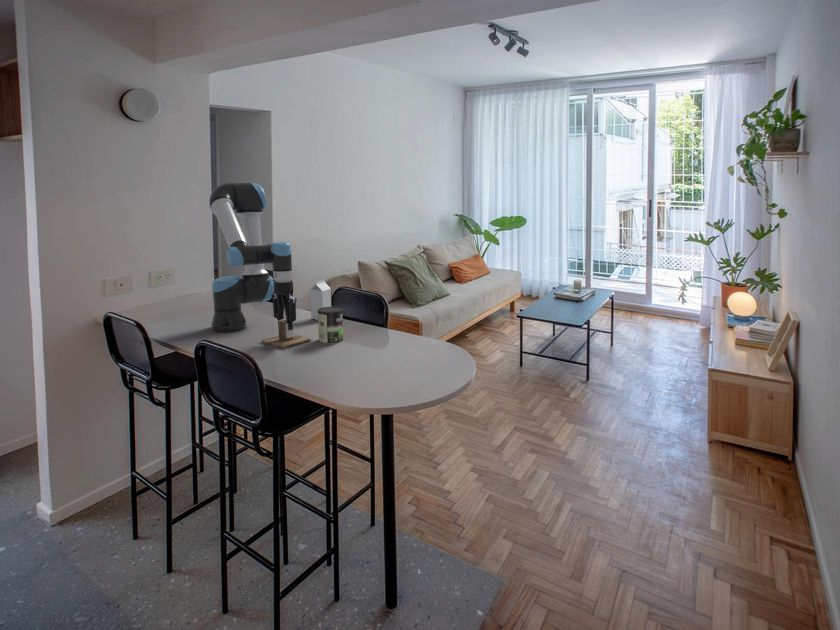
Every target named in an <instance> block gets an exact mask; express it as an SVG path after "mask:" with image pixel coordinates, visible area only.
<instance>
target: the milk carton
mask: <svg viewBox="0 0 840 630" xmlns="http://www.w3.org/2000/svg"><path fill="white" fill-rule="evenodd" d="M309 291H310V292H309V294H310V296H309V297H310V316H311V317H310V319H315V320H314V321H318V309H319V308H323V307H332V292H331V291H332V290H331V287H330V286H329V285H328V284H327V283H326V281H325V279H322V280H319V281H316V282H315V283H314V284H313V286H312V287H311V288H310V290H309Z"/></svg>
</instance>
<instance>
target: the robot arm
mask: <svg viewBox="0 0 840 630" xmlns="http://www.w3.org/2000/svg"><path fill="white" fill-rule="evenodd" d="M208 201H209V202H208V203H209V209H210V211H211V213H212V214H213V215H214V216H215V217H216V219H217V221H218V224H219V226H220V229H221V232H222V233H223V237H224V239H225V241H226V244H227V246H228V247H227V249H226V252H225V254H226V255H225V256H226V260H227V264H228V265H229V266H233V267H234V266H235V267H237V266H238V267H241V266H244V268H245V269H244V271H243V272H242V274H241V275H242V278H240V277H239V276H238V275H227V276H226V275H225V276H221V277H218V278H215V279H214V280H213V281H212V285H211V286H212V288H211V292H212V297H213V299H212V300H213V311H214V312H213V316H212V321H211V330H212V331H214V332H219V333H229V332H236V331H240V330H244V329H246V328H247V320H246V318H245V316H244V314H243V311H242V305H244V304H254V303H262V302H267V301H270V300H272V310H273V318H275V319H276V320H277V322H278V321H281V320H285V318H286V320H287V321H286V338H290V337H293V334H294V333H293V334H292V330H293V329H294V327H293V325H294V324H293V322H296V321H297V304H296V303H297V297H293V294H292V290H294V284H293V263H292V247H291V243H290V242H287V241H274V242H272V243H266V244H263V239H262V227H261V216H262V214H264V213H263V210H265V209H266V207H267V197H266V194H265V190H264V188H263V187H262V185H260V184H258V183H255V182H253V183H252V182H232V183H231V182H224V183H221V184H219V185H218V186H216V187H215V188H214V189H213V191H211V193H210V195H209V200H208ZM236 215H237V216H238V217H239V218H240V221H239V220H238V217H237V216H236ZM265 264H272V275H273V276H271V275H269V272H268V271H267V270H266V269H265ZM274 291H275V293H274ZM284 314H285V316H284Z"/></svg>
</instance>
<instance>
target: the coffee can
mask: <svg viewBox="0 0 840 630" xmlns="http://www.w3.org/2000/svg"><path fill="white" fill-rule="evenodd" d="M343 310H344V309H343V308H342V307H339V306H331V307H323V308H319V309H318V320H317V322H318V341H319V343H321V344H324V345H334V344H339V343H342V342H343V341H344V329H343V328H344V327H343V326H344V324H343V323H344V322H343Z"/></svg>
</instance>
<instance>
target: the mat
mask: <svg viewBox="0 0 840 630" xmlns="http://www.w3.org/2000/svg"><path fill="white" fill-rule="evenodd" d="M313 343H316V340H311V339H310V342H306V343H303V344H299V345H296V346H293V347H289V348H286V349H281V348H278V347H274V346H271V345H268V344H265V343H262V341H259V342H257V344H258V345H261V346H264V347H269V348H271V349H274V350H278V351H281V352H285V351H288V350H292V349H295V348H299V347H302V346H305V345H309V344H313Z"/></svg>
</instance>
